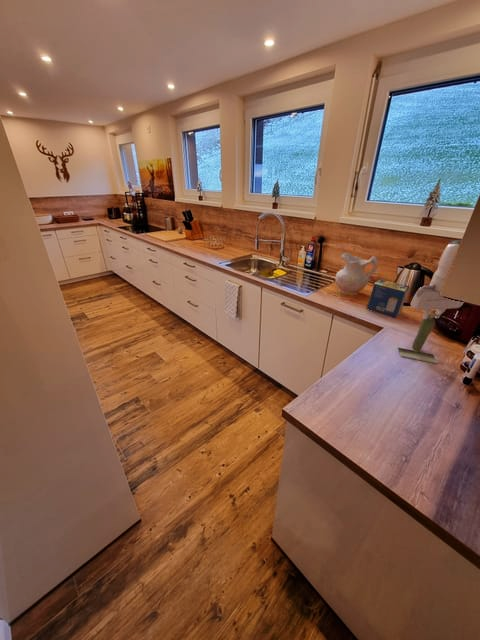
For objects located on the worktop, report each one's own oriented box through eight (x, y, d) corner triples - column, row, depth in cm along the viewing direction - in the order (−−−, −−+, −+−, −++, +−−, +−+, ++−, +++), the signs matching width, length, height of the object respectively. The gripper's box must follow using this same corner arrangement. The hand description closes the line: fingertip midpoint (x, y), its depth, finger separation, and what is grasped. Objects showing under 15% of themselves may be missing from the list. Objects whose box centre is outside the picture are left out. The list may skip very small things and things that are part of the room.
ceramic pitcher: (365, 290, 176) (374, 253, 165) (371, 300, 158) (382, 258, 148) (331, 287, 180) (338, 250, 169) (334, 295, 162) (342, 255, 152)
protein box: (371, 303, 154) (379, 278, 147) (400, 312, 145) (410, 286, 138) (365, 309, 147) (373, 283, 140) (395, 318, 138) (405, 291, 131)
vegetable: (409, 347, 113) (427, 305, 103) (421, 350, 111) (440, 308, 102) (410, 352, 109) (428, 309, 100) (422, 355, 108) (442, 312, 98)
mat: (429, 349, 113) (430, 348, 113) (436, 364, 104) (437, 362, 104) (396, 342, 117) (396, 341, 117) (400, 356, 108) (401, 355, 107)
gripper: (427, 289, 92) (413, 323, 98) (475, 287, 95) (458, 320, 102) (413, 282, 97) (401, 315, 104) (459, 281, 101) (445, 313, 107)
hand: (430, 318), depth 103 cm, fingers open, 3 cm apart
